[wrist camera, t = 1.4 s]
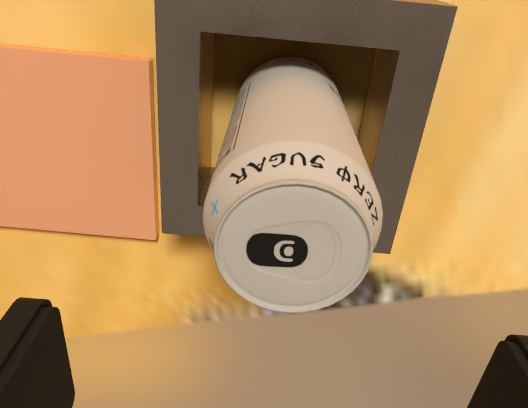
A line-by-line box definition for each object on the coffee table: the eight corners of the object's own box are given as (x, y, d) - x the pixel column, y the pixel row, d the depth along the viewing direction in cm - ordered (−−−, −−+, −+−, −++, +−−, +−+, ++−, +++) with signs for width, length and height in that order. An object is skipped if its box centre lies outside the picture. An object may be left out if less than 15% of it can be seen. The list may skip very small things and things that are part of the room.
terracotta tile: (152, 58, 26) (148, 61, 25) (158, 233, 31) (155, 240, 31) (-59, 38, 25) (-69, 40, 25) (-13, 218, 31) (-20, 224, 31)
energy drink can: (332, 155, 28) (375, 332, 15) (236, 149, 28) (196, 321, 15) (345, 56, 25) (413, 168, 12) (238, 50, 25) (190, 155, 12)
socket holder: (425, -4, 23) (457, 6, 19) (374, 209, 30) (389, 253, 26) (177, -28, 23) (153, -23, 19) (179, 191, 30) (162, 233, 25)
